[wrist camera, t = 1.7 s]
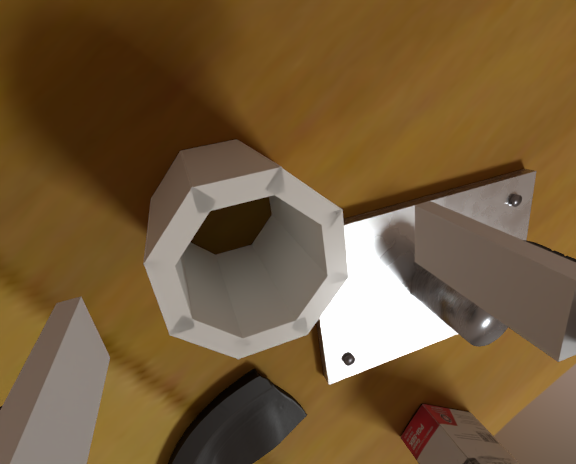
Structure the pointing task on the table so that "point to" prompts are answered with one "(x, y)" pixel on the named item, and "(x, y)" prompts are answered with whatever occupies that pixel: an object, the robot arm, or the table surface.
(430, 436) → the ink box
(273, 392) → the curved wedge
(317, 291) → the octagonal hollow tube
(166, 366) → the table surface
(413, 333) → the duct plate
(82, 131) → the table surface
